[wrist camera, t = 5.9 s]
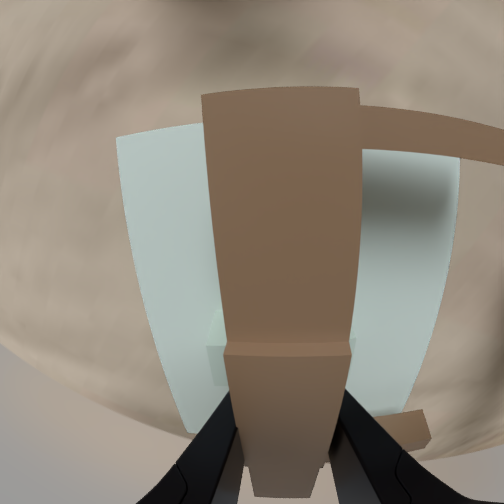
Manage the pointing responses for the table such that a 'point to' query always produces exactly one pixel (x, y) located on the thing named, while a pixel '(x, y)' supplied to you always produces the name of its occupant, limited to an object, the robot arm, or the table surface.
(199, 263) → the stand
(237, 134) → the brown c-shaped bracket
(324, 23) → the table surface
